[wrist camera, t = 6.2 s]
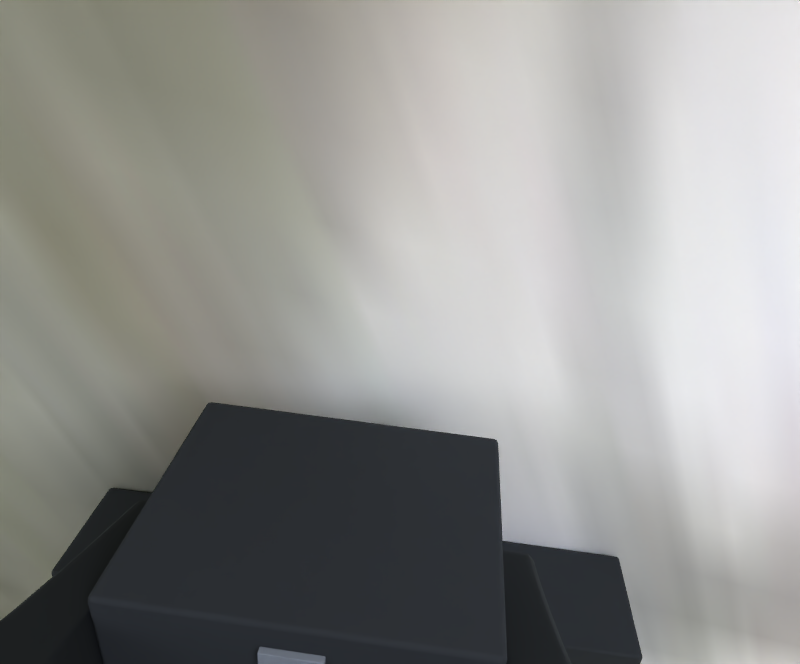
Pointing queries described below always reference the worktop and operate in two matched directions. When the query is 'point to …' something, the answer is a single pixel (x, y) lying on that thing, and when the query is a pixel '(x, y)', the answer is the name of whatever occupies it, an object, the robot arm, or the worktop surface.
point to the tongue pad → (311, 548)
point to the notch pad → (557, 569)
